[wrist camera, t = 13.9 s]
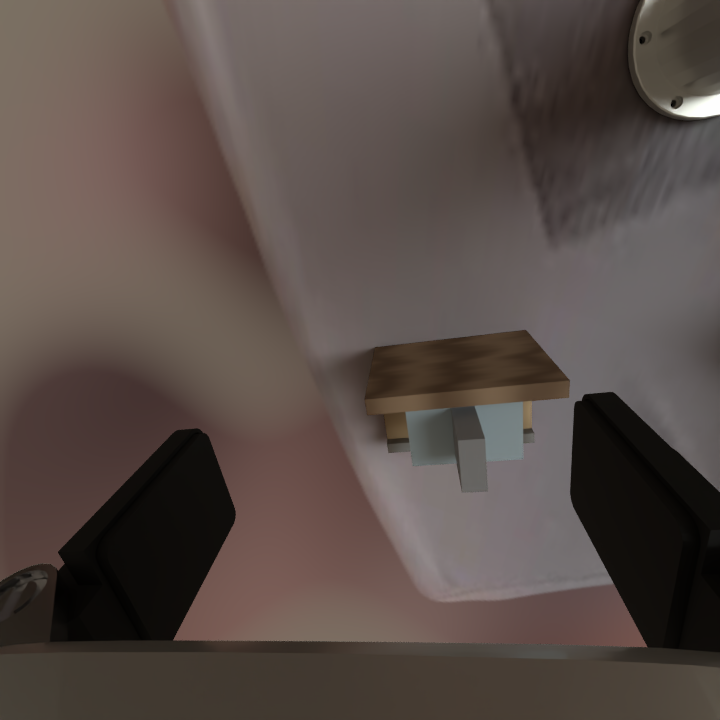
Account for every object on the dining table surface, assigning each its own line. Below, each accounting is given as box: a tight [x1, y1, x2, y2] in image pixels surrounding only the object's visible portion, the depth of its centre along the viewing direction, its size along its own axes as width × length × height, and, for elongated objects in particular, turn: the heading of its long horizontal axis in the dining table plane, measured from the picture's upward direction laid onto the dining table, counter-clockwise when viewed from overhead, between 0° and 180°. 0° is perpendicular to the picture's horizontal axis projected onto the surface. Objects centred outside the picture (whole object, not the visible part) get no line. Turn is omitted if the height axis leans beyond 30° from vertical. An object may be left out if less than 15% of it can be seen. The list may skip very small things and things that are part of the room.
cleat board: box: [365, 330, 570, 453], centre depth 39 cm, size 16×12×12 cm
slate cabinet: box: [405, 402, 523, 493], centre depth 36 cm, size 10×7×13 cm
